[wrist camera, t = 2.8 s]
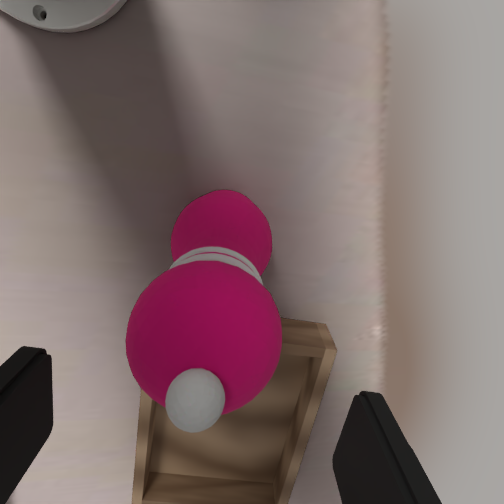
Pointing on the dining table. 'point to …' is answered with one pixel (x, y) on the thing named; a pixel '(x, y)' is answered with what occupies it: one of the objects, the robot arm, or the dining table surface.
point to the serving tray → (239, 434)
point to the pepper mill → (208, 315)
